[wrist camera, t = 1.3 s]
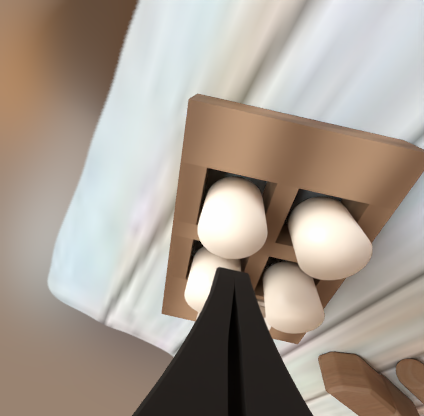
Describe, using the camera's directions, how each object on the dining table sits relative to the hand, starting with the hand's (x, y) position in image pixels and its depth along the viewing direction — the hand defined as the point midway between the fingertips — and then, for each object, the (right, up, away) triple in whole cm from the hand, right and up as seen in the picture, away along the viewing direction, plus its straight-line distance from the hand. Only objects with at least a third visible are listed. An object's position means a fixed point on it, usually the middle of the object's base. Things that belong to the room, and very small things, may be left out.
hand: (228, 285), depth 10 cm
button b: (0, -1, +9) cm, 9 cm away
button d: (+6, -3, +9) cm, 11 cm away
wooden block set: (+24, -16, +19) cm, 35 cm away
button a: (+1, +4, +6) cm, 7 cm away
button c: (+7, +2, +6) cm, 9 cm away
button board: (+3, +1, +11) cm, 11 cm away
